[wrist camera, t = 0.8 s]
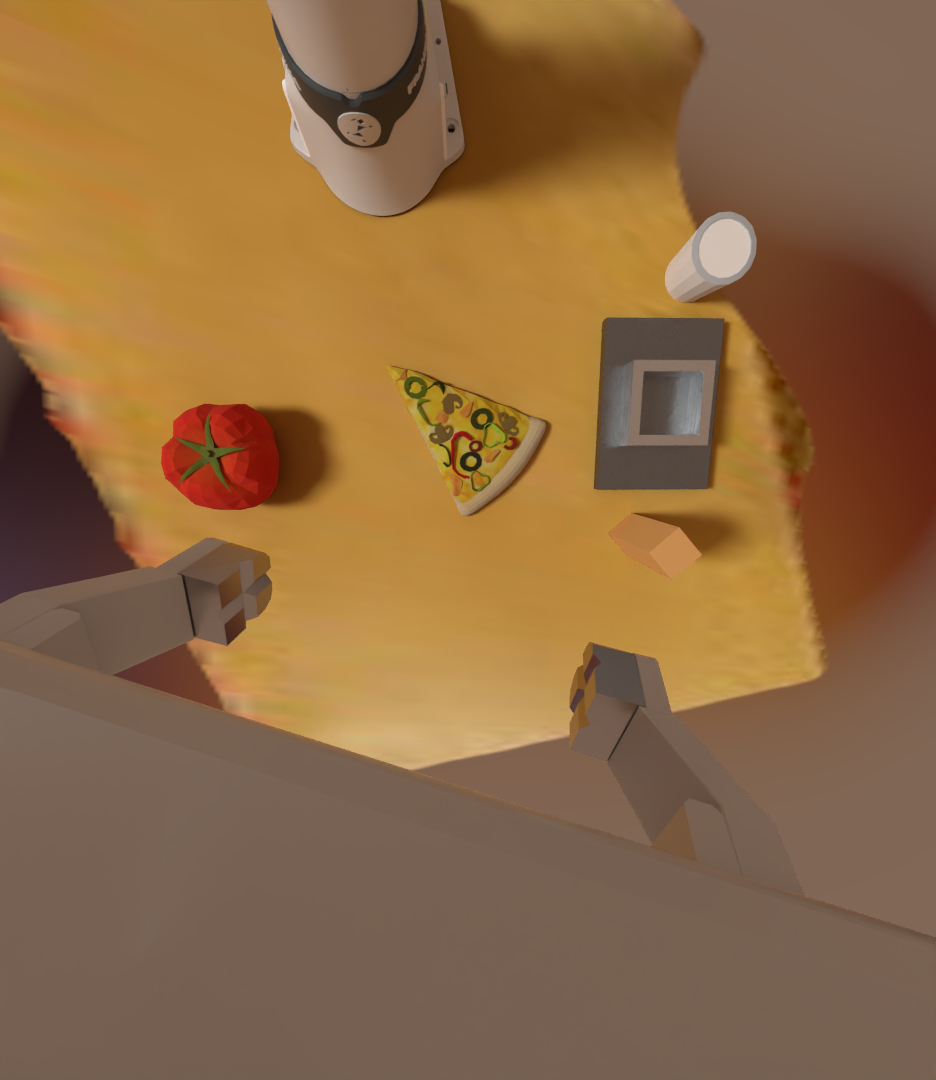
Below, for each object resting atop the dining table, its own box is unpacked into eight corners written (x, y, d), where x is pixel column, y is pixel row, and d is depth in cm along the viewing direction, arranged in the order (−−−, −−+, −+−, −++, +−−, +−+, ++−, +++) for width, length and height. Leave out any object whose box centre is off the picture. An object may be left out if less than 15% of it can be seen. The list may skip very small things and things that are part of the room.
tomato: (250, 528, 54) (212, 540, 46) (172, 457, 52) (118, 457, 44) (317, 458, 53) (291, 457, 44) (239, 382, 51) (197, 367, 43)
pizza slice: (473, 523, 56) (474, 527, 53) (349, 415, 53) (343, 412, 50) (554, 433, 54) (559, 431, 51) (430, 315, 51) (429, 307, 48)
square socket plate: (602, 321, 51) (616, 308, 46) (716, 322, 51) (741, 309, 47) (593, 488, 55) (606, 491, 50) (700, 488, 55) (721, 490, 51)
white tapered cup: (654, 303, 51) (685, 279, 44) (666, 240, 50) (700, 205, 43) (709, 312, 51) (748, 289, 44) (722, 250, 50) (765, 216, 43)
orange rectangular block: (607, 533, 56) (648, 552, 44) (631, 513, 55) (679, 527, 44) (626, 555, 56) (671, 580, 45) (650, 535, 56) (702, 555, 44)
